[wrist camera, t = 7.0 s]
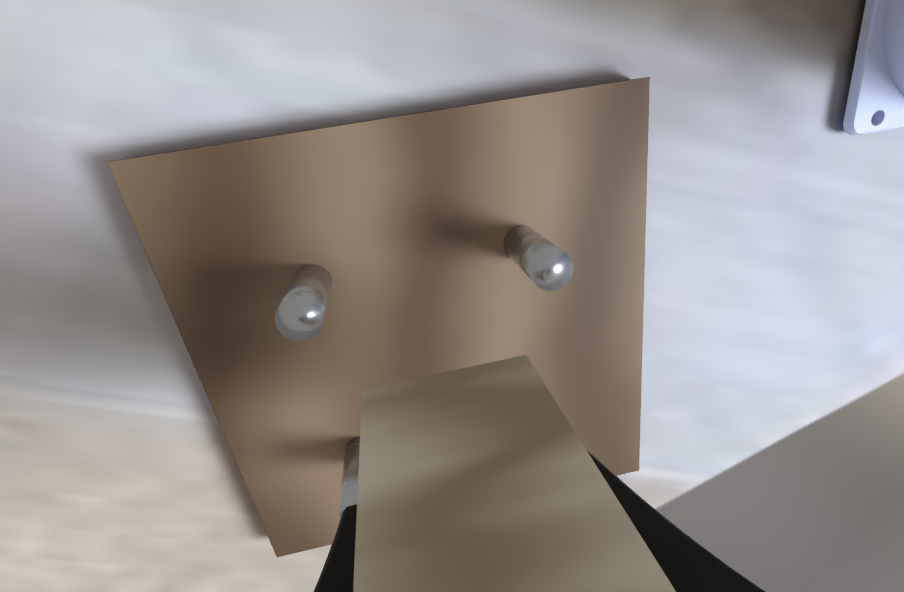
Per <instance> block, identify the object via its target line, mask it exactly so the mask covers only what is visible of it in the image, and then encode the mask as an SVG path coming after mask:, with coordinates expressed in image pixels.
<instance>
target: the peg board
mask: <svg viewBox="0 0 904 592" xmlns="http://www.w3.org/2000/svg"><path fill="white" fill-rule="evenodd" d="M649 80H650V77H647V78H639V79H632V80H626V81H619V82H613V83H607V84H600V85H594V86H588V87H581V88H575V89H569V90H562V91H556V92H549V93H543V94H537V95H530V96H524V97H518V98H511V99H505V100H499V101H492V102H486V103H479V104H473V105H467V106H460V107H454V108H448V109H441V110H435V111H428V112H422V113H416V114H409V115H403V116H397V117H390V118H384V119H378V120H371V121H365V122H358V123H352V124H346V125H339V126H333V127H327V128H320V129H314V130H307V131H301V132H295V133H288V134H282V135H276V136H269V137H263V138H257V139H250V140H244V141H237V142H231V143H225V144H218V145H212V146H206V147H199V148H193V149H187V150H180V151H174V152H167V153H161V154H155V155H148V156H142V157H136V158H129V159H123V160H117V161H112V162H107V164H108V166H109V169H110V171H111V173H112V176H113V178H114V180H115V183H116V185H117V187H118V190H119V192H120V194H121V197H122V199H123V201H124V204H125V206H126V208H127V211H128V213H129V215H130V218H131V220H132V222H133V224H134V227H135V229H136V231H137V234H138V236H139V238H140V241H141V243H142V245H143V248H144V250H145V252H146V255H147V257H148V259H149V262H150V264H151V266H152V269H153V271H154V273H155V276H156V278H157V280H158V282H159V285H160V287H161V289H162V292H163V294H164V296H165V299H166V301H167V303H168V306H169V308H170V310H171V313H172V315H173V317H174V320H175V322H176V324H177V327H178V329H179V331H180V334H181V336H182V338H183V340H184V343H185V345H186V347H187V350H188V352H189V354H190V357H191V359H192V361H193V364H194V366H195V368H196V371H197V373H198V375H199V378H200V380H201V382H202V385H203V387H204V389H205V392H206V394H207V396H208V398H209V401H210V403H211V405H212V408H213V410H214V412H215V415H216V417H217V419H218V422H219V424H220V426H221V429H222V431H223V433H224V436H225V438H226V440H227V443H228V445H229V447H230V450H231V452H232V454H233V456H234V459H235V461H236V463H237V466H238V468H239V470H240V473H241V475H242V477H243V480H244V482H245V484H246V487H247V489H248V491H249V494H250V496H251V498H252V501H253V503H254V505H255V508H256V510H257V512H258V514H259V517H260V519H261V521H262V524H263V526H264V528H265V531H266V533H267V535H268V538H269V540H270V542H271V545H272V547H273V549H274V552H275V554H276V556H277V557H280V556H284V555H289V554H293V553H297V552H301V551H305V550H309V549H314V548H318V547H322V546H326V545H330V544H332V543H333V540H334V537H335V534H336V531H337V528H338V525H339V522H340V519H341V516H342V512H343V511H344V510H345V508H346V507H348V506H352V505H356V504H357V495H358V473H359V451H360V429H361V407H362V389H367V388H371V387H376V386H381V385H386V384H390V383H395V382H400V381H405V380H409V379H414V378H419V377H423V376H428V375H433V374H438V373H442V372H447V371H452V370H457V369H461V368H466V367H471V366H475V365H480V364H485V363H490V362H494V361H499V360H504V359H509V358H513V357H518V356H523V355H527V357H528V358H529V360H530V362H531V363H532V365H533V366H534V368H535V370H536V371H537V373H538V374H539V376H540V377H541V379H542V381H543V382H544V384H545V385H546V387H547V388H548V390H549V392H550V393H551V395H552V396H553V398H554V400H555V401H556V403H557V404H558V406H559V407H560V409H561V411H562V412H563V414H564V415H565V417H566V419H567V420H568V422H569V423H570V425H571V426H572V428H573V430H574V431H575V433H576V434H577V436H578V437H579V439H580V441H581V442H582V444H583V445H584V447H585V449H586V450H587V451H588V452H590V453H591V454H592V455H593V456H595V457H596V458H597V459H598V460H599V461H600V462H601V463H602V464H603V465H604V466H605V467H607V468H608V469H609V470H610V471H611V472H612V473H613V474H614V475H615V476H617V475H621V474H625V473H629V472H634V471H638V470H639V448H640V411H641V374H642V337H643V300H644V264H645V227H646V190H647V153H648V117H649Z"/></svg>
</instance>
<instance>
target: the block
mask: <svg viewBox="0 0 904 592" xmlns="http://www.w3.org/2000/svg"><path fill="white" fill-rule="evenodd" d="M353 592H676V591H675V589H674V588H673V586H672V585H671V583H670V581H669V580H668V578H667V577H666V575H665V573H664V572H663V570H662V569H661V567H660V566H659V564H658V562H657V561H656V559H655V558H654V556H653V554H652V553H651V551H650V550H649V548H648V547H647V545H646V543H645V542H644V540H643V539H642V537H641V536H640V534H639V532H638V531H637V529H636V528H635V526H634V524H633V523H632V521H631V520H630V518H629V517H628V515H627V513H626V512H625V510H624V509H623V507H622V505H621V504H620V502H619V501H618V499H617V498H616V496H615V494H614V493H613V491H612V490H611V488H610V487H609V485H608V483H607V482H606V480H605V479H604V477H603V475H602V474H601V472H600V471H599V469H598V468H597V466H596V464H595V463H594V461H593V460H592V458H591V456H590V455H589V453H588V452H587V450H586V449H585V447H584V445H583V444H582V442H581V441H580V439H579V437H578V436H577V434H576V433H575V431H574V430H573V428H572V426H571V425H570V423H569V422H568V420H567V419H566V417H565V415H564V414H563V412H562V411H561V409H560V407H559V406H558V404H557V403H556V401H555V400H554V398H553V396H552V395H551V393H550V392H549V390H548V388H547V387H546V385H545V384H544V382H543V381H542V379H541V377H540V376H539V374H538V373H537V371H536V370H535V368H534V366H533V365H532V363H531V362H530V360H529V358H528V357H527V355H523V356H518V357H513V358H509V359H504V360H499V361H494V362H490V363H485V364H480V365H475V366H471V367H466V368H461V369H457V370H452V371H447V372H442V373H438V374H433V375H428V376H423V377H419V378H414V379H409V380H405V381H400V382H395V383H390V384H386V385H381V386H376V387H371V388H367V389H362V407H361V429H360V451H359V473H358V495H357V518H356V540H355V562H354V584H353Z"/></svg>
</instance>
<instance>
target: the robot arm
mask: <svg viewBox="0 0 904 592" xmlns="http://www.w3.org/2000/svg"><path fill="white" fill-rule="evenodd" d="M872 116H873V119H872ZM871 119H872V121H871ZM902 127H904V0H866V4H865V9H864V14H863V20H862V25H861V30H860V36H859V41H858V46H857V52H856V57H855V62H854V68H853V73H852V78H851V84H850V89H849V94H848V100H847V105H846V110H845V116H844V121H843V128H844V130H845V132H846V133H848V134H854V135H863V134H868V133H874V132H880V131H885V130H891V129H897V128H902ZM587 452H588V451H587ZM588 453H589V455H590V456H591V458H592V460H593V461H594V463H595V464H596V466H597V468H598V469H599V471H600V472H601V474H602V475H603V477H604V479H605V480H606V482H607V483H608V485H609V487H610V488H611V490H612V491H613V493H614V494H615V496H616V498H617V499H618V501H619V502H620V504H621V505H622V507H623V509H624V510H625V512H626V513H627V515H628V517H629V518H630V520H631V521H632V523H633V524H634V526H635V528H636V529H637V531H638V532H639V534H640V536H641V537H642V539H643V540H644V542H645V543H646V545H647V547H648V548H649V550H650V551H651V553H652V554H653V556H654V558H655V559H656V561H657V562H658V564H659V566H660V567H661V569H662V570H663V572H664V573H665V575H666V577H667V578H668V580H669V581H670V583H671V585H672V586H673V588H674V589H675V591H676V592H765V591H764V590H762V589H760V588H759V587H757V586H756V585H755V584H753V583H752V582H750V581H749V580H747V579H746V578H745V577H743V576H742V575H740V574H739V573H738V572H736V571H735V570H733V569H732V568H730V567H729V566H728V565H726V564H725V563H724V562H722V561H721V560H720V559H718V558H717V557H715V556H714V555H713V554H711V553H710V552H709V551H707V550H706V549H704V548H703V547H702V546H700V545H699V544H698V543H697V542H695V541H694V540H693V539H691V538H690V537H689V536H688V535H686V534H685V533H684V532H682V531H681V530H680V529H679V528H677V527H676V526H675V525H674V524H672V523H671V522H670V521H669V520H667V519H666V518H665V517H664V516H662V515H661V514H660V513H659V512H658V511H656V510H655V509H654V508H653V507H651V506H650V505H649V504H648V503H647V502H646V501H644V500H643V499H642V498H641V497H640V496H638V495H637V494H636V493H635V492H634V491H633V490H631V489H630V488H629V487H628V486H627V485H626V484H625V483H623V482H622V481H621V480H620V479H619V478H618V477H617V476H615V475H614V474H613V473H612V472H611V471H610V470H609V469H608V468H607V467H605V466H604V465H603V464H602V463H601V462H600V461H599V460H598V459H597V458H596V457H595V456H593V455H592V454H591V453H590V452H588ZM356 518H357V504H356V505H352V506H348V507H346V508H345V510H344V511H343V512H342V516H341V519H340V522H339V525H338V528H337V531H336V534H335V537H334V540H333V543H332V546H331V549H330V552H329V554H328V557H327V560H326V562H325V565H324V567H323V570H322V573H321V575H320V578H319V580H318V583H317V585H316V588H315V590H314V592H353V584H354V562H355V540H356Z"/></svg>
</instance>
